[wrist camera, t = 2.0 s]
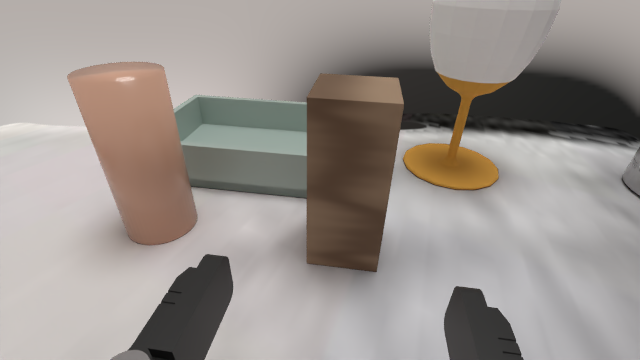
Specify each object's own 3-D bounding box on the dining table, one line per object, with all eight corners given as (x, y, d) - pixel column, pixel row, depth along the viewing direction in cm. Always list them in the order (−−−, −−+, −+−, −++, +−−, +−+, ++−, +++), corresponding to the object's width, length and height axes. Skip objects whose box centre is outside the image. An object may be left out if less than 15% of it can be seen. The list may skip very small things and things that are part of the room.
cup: (509, 196, 28) (598, -22, 20) (403, 183, 30) (442, -26, 21) (487, 150, 36) (543, -22, 27) (402, 141, 37) (431, -25, 29)
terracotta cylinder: (208, 206, 26) (179, 64, 20) (177, 248, 22) (130, 86, 16) (152, 200, 27) (108, 60, 21) (112, 240, 23) (44, 80, 17)
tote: (361, 140, 37) (364, 106, 35) (356, 203, 27) (360, 160, 25) (201, 127, 39) (195, 94, 37) (139, 181, 29) (126, 139, 27)
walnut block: (376, 226, 24) (398, 78, 19) (376, 272, 21) (404, 103, 15) (317, 219, 25) (320, 73, 19) (306, 263, 21) (306, 97, 15)
